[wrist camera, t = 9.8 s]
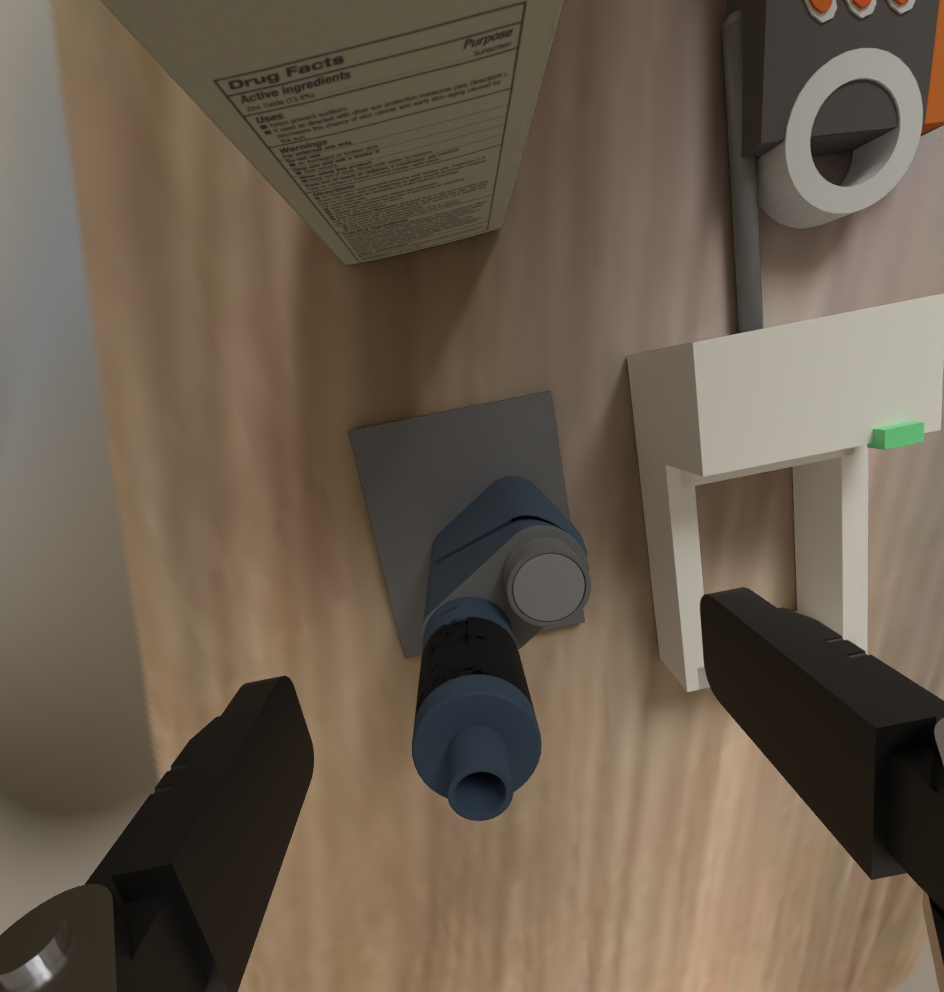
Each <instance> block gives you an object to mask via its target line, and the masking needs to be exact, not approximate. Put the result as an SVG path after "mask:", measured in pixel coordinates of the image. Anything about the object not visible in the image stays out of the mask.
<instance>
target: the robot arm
mask: <svg viewBox="0 0 944 992" xmlns="http://www.w3.org/2000/svg"><path fill="white" fill-rule="evenodd" d="M700 619H701V632H702V646H703V659H704V669H705V673H706V677H707V680H708V683H709V685H710V687H711V690H712V692H713V693H714V695H715V697H716V698H717V700H718V701H719V702H720V703H721V705H722V706H723V707H724V708H725V709H726V710H727V712H728V713H729V714H730V715H731V716H732V717H733V719H734V720H735V721H736V722H737V723H738V724H739V726H740V727H741V728H742V729H743V730H744V731H745V733H746V734H747V735H748V736H749V737H750V738H751V740H752V741H753V742H754V743H755V744H756V746H757V747H758V748H759V749H760V750H761V751H762V753H763V754H764V755H765V756H766V757H767V758H768V760H769V761H770V762H771V763H772V764H773V765H774V767H775V768H776V769H777V770H778V771H779V772H780V774H781V775H782V776H783V777H784V778H785V779H786V781H787V782H788V783H789V784H790V785H791V786H792V788H793V789H794V790H795V791H796V792H797V793H798V795H799V796H800V797H801V798H802V799H803V800H804V802H805V803H806V804H807V805H808V806H809V808H810V809H811V810H812V811H813V812H814V813H815V815H816V816H817V817H818V818H819V819H820V820H821V822H822V823H823V824H824V825H825V826H826V827H827V829H828V830H829V831H830V832H831V833H832V834H833V836H834V837H835V838H836V839H837V840H838V841H839V843H840V844H841V845H842V846H843V847H844V848H845V850H846V851H847V852H848V853H849V854H850V855H851V857H852V858H853V859H854V860H855V861H856V862H857V864H858V865H859V866H860V867H861V868H862V869H863V871H864V872H865V873H866V874H867V875H868V877H869V878H870V879H871V880H873V879H878V878H883V877H888V876H893V875H898V874H903V873H908V874H909V875H910V877H911V878H912V879H913V880H914V881H915V882H916V883H917V884H918V885H919V886H920V887H921V888H922V889H923V913H924V918H925V923H926V928H927V932H928V937H929V942H930V947H931V952H932V956H933V961H934V966H935V971H936V976H937V981H938V986H939V990H940V992H944V701H943V700H941V699H940V698H938V697H937V696H935V695H934V694H932V693H930V692H929V691H927V690H926V689H924V688H923V687H921V686H919V685H918V684H916V683H915V682H913V681H912V680H910V679H909V678H907V677H905V676H904V675H902V674H901V673H899V672H898V671H896V670H894V669H893V668H891V667H890V666H888V665H887V664H885V663H883V662H882V661H880V660H879V659H877V658H876V657H874V656H872V655H867V654H866V652H865V650H863V649H861V648H860V647H858V646H857V645H855V644H854V643H852V642H850V641H849V640H843V638H842V636H841V635H839V634H838V633H836V632H835V631H833V630H832V629H830V628H829V627H827V626H825V625H824V624H822V623H821V622H819V621H818V620H816V619H813V618H811V617H808V616H805V615H802V614H799V613H797V612H794V611H791V610H788V609H785V608H776V607H775V606H773V605H772V604H770V603H769V602H767V601H766V600H765V599H763V598H762V597H760V596H759V595H757V594H756V593H754V592H753V591H751V590H750V589H748V588H745V587H742V588H737V589H731V590H726V591H721V592H716V593H711V594H706V595H703V596H702V598H701V600H700ZM313 768H314V751H313V745H312V741H311V737H310V734H309V731H308V728H307V725H306V722H305V719H304V716H303V713H302V710H301V706H300V703H299V700H298V697H297V694H296V691H295V688H294V685H293V683H292V681H291V680H290V678H288V677H287V676H281V677H276V678H270V679H265V680H260V681H255V682H250V683H246V684H244V685H243V686H241V688H240V689H239V690H238V692H237V693H236V695H235V696H234V698H233V699H232V701H231V702H230V703H229V705H228V706H227V708H226V709H225V711H224V712H223V714H222V715H221V716H219V717H216V718H215V719H213V720H212V721H211V722H210V723H209V724H208V725H207V726H206V727H204V728H203V729H202V730H201V731H200V732H199V733H198V734H196V735H195V736H194V737H193V738H192V739H191V740H190V741H189V742H188V743H187V745H186V746H185V747H184V749H183V750H182V752H181V753H180V754H179V756H178V757H177V758H176V760H175V761H174V763H173V764H172V765H171V771H167V772H166V774H165V775H164V776H163V778H162V779H161V780H160V782H159V783H158V785H157V786H156V787H155V793H154V794H151V795H150V796H149V797H148V798H147V800H146V801H145V802H144V804H143V805H142V806H141V808H140V809H139V811H138V812H137V814H136V815H135V816H134V818H133V819H132V820H131V822H130V823H129V824H128V826H127V827H126V828H125V830H124V831H123V833H122V834H121V835H120V837H119V838H118V840H117V841H116V842H115V844H114V845H113V846H112V848H111V849H110V850H109V852H108V853H107V855H106V856H105V857H104V859H103V860H102V861H101V863H100V864H99V865H98V867H97V868H96V870H95V871H94V872H93V874H92V875H91V876H90V878H89V879H88V881H87V882H86V884H85V885H82V886H78V887H75V888H72V889H69V890H67V891H64V892H62V893H60V894H58V895H56V896H54V897H52V898H50V899H49V900H47V901H45V902H43V903H42V904H40V905H39V906H37V907H36V908H34V909H33V910H31V911H30V912H28V913H27V914H26V915H24V916H23V917H22V918H20V919H19V920H18V921H16V922H15V923H14V924H13V925H11V926H10V927H9V928H8V929H7V930H6V931H4V932H3V933H2V934H1V935H0V992H238V989H239V986H240V983H241V980H242V977H243V975H244V972H245V969H246V966H247V963H248V960H249V957H250V954H251V952H252V949H253V946H254V943H255V940H256V937H257V934H258V931H259V929H260V926H261V923H262V920H263V917H264V914H265V911H266V908H267V906H268V903H269V900H270V897H271V894H272V891H273V888H274V885H275V883H276V880H277V877H278V874H279V871H280V868H281V865H282V862H283V860H284V857H285V854H286V851H287V848H288V845H289V842H290V839H291V837H292V834H293V831H294V828H295V825H296V822H297V819H298V816H299V814H300V811H301V808H302V805H303V802H304V799H305V796H306V793H307V791H308V788H309V785H310V782H311V779H312V774H313Z"/></svg>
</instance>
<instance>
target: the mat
mask: <svg viewBox="0 0 944 992" xmlns="http://www.w3.org/2000/svg"><path fill="white" fill-rule="evenodd" d="M348 433H349V437H350V441H351V445H352V449H353V453H354V457H355V461H356V465H357V469H358V473H359V477H360V481H361V485H362V489H363V493H364V497H365V501H366V505H367V509H368V513H369V517H370V521H371V525H372V529H373V533H374V537H375V541H376V545H377V549H378V553H379V557H380V561H381V565H382V569H383V573H384V577H385V581H386V585H387V589H388V593H389V597H390V601H391V605H392V609H393V613H394V617H395V621H396V625H397V629H398V633H399V637H400V641H401V645H402V649H403V653H404V657H405V658H409V657H414V656H419V655H422V650H423V649H422V646H421V639H420V634H421V628H422V625H423V618H424V610H425V601H426V593H427V585H428V577H429V568H430V560H431V552H432V544H433V541H434V539H435V537H436V536H437V535H438V534H439V533H440V532H441V531H442V530H443V529H444V528H445V527H446V526H447V525H448V524H449V523H450V522H451V521H452V520H453V519H455V518H456V517H457V516H458V515H459V514H460V513H461V512H462V511H463V510H464V509H465V508H466V507H467V506H468V505H469V504H470V503H471V502H472V501H474V500H475V499H476V498H477V497H478V496H479V495H480V494H481V493H482V492H483V491H484V490H485V489H486V488H487V487H488V486H489V485H490V484H492V483H493V482H494V481H496V480H498V479H500V478H503V477H507V476H518V477H522V478H524V479H527V480H529V481H530V482H532V483H533V484H534V485H535V486H537V487H538V488H539V489H540V490H541V491H542V492H543V494H544V495H545V496H546V497H547V498H548V499H549V500H550V501H551V502H552V503H553V504H554V505H555V506H556V507H557V508H558V509H559V510H560V511H561V513H562V514H563V515H564V516H565V517H566V518H567V519H568V520H569V521H570V518H569V511H568V504H567V497H566V490H565V484H564V477H563V470H562V463H561V457H560V450H559V443H558V436H557V429H556V423H555V416H554V409H553V402H552V395H551V391H547V392H542V393H537V394H532V395H527V396H522V397H517V398H512V399H506V400H501V401H496V402H491V403H486V404H481V405H476V406H471V407H465V408H460V409H455V410H450V411H445V412H440V413H435V414H430V415H424V416H419V417H414V418H409V419H404V420H399V421H394V422H389V423H383V424H378V425H373V426H368V427H363V428H358V429H353V430H349V431H348ZM583 622H585V619H584V613H583V609H582V611H581V612H580V613H579V614H578V615H577V616H576V617H574V618H573V619H572V620H570V621H568V622H566V623H564V624H561V625H558V626H553V627H544V628H543V629H542V630H540V631H543V630H548V629H553V628H558V627H563V626H568V625H573V624H578V623H583Z"/></svg>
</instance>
